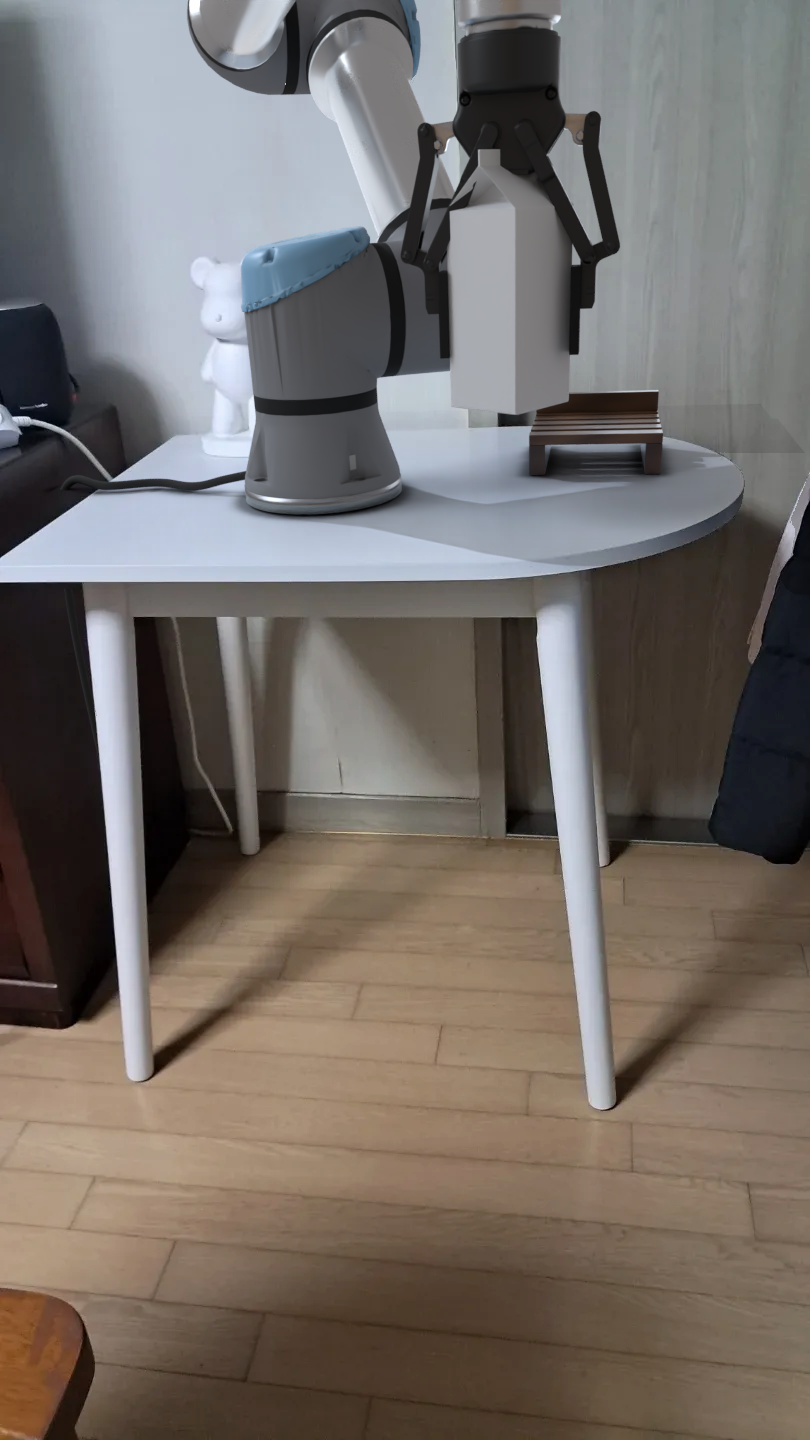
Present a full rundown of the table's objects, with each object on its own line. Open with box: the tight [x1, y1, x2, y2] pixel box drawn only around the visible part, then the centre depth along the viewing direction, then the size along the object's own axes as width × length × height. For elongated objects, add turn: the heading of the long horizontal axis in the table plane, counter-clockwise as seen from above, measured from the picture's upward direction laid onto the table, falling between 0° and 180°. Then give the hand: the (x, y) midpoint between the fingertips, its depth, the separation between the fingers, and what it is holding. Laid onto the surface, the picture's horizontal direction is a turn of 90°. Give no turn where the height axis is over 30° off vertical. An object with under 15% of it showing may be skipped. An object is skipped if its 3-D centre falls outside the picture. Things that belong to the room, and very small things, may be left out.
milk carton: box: [446, 149, 574, 416], centre depth 82 cm, size 7×7×19 cm
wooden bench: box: [528, 389, 664, 476], centre depth 108 cm, size 13×13×6 cm
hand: (509, 354), depth 85 cm, fingers closed on milk carton, 10 cm apart
